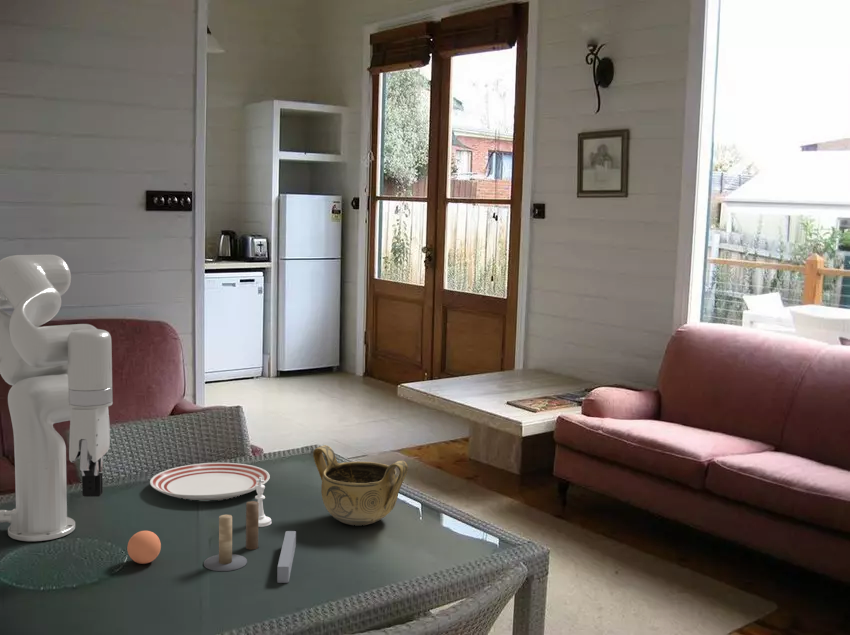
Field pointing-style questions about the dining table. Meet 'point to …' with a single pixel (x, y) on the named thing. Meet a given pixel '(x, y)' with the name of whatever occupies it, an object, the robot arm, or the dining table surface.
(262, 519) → the chess piece
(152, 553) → the ball
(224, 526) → the beech pin
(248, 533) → the walnut pin
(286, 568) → the back wall
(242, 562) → the pin spot
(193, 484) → the dinner plate
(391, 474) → the ceramic bowl
